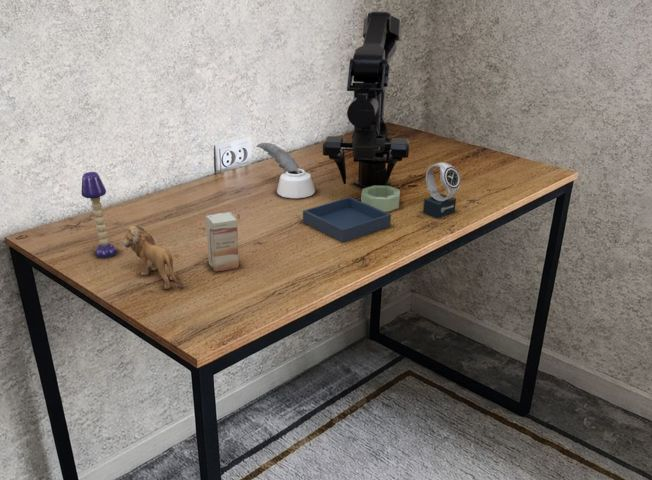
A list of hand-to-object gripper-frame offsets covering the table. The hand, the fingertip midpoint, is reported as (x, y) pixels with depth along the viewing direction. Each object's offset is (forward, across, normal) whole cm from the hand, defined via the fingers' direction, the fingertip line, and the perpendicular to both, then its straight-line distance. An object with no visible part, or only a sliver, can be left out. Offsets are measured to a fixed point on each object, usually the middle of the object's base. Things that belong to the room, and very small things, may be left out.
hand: (365, 184), depth 174 cm
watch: (+5, +17, -4) cm, 18 cm away
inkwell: (+5, -20, +8) cm, 23 cm away
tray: (+5, -3, -12) cm, 14 cm away
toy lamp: (+5, -50, -33) cm, 60 cm away
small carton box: (+5, -25, -36) cm, 44 cm away
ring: (+5, +4, 0) cm, 6 cm away
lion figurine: (+5, -37, -42) cm, 56 cm away
